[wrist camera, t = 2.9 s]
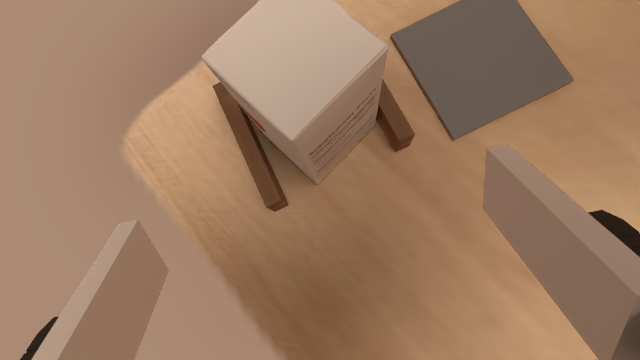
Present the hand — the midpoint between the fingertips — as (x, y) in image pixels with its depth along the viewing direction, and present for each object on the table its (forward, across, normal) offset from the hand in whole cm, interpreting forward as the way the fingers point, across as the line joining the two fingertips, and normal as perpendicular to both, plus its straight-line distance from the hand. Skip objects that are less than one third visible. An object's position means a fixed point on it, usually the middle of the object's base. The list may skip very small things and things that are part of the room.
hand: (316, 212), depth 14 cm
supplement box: (+24, 0, -7) cm, 25 cm away
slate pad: (+26, +18, -4) cm, 32 cm away
